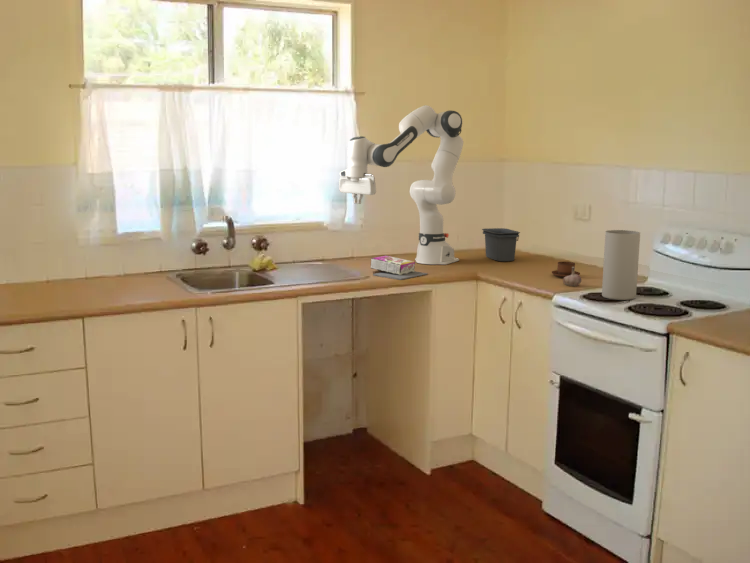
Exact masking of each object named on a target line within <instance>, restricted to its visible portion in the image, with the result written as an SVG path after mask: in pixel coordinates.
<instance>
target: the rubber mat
mask: <svg viewBox="0 0 750 563" xmlns="http://www.w3.org/2000/svg"><path fill="white" fill-rule="evenodd" d="M427 274H428V275H429V273H428V272H423V271H421V272H420V271H415V270H414V272H412V273H407V274H403V275H397V274H393V273H389V272H381V273H375V274H373V273H372V276H375V277H380V278H388V279H393V280H398V281H402V280H407V279H413V278H416V277H417V276H419V277H423V276H422V275H424V276H428V275H427ZM417 278H418V277H417Z"/></svg>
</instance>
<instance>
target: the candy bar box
mask: <svg viewBox="0 0 750 563" xmlns="http://www.w3.org/2000/svg"><path fill="white" fill-rule="evenodd" d="M415 266H416V261H413V260H409V259H405V258H399V257H394V256H390V255H382V256H376V257H372V258H371V259H370V269H372V270H380V271H384V272H389V273H393V274H397V275H403V274H407V273H412V272H414V271H415V270H416V269H415V268H416V267H415Z"/></svg>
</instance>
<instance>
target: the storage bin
mask: <svg viewBox="0 0 750 563" xmlns="http://www.w3.org/2000/svg"><path fill="white" fill-rule="evenodd" d="M481 231H482V235H484V242H485V243H484V244H485V257H486V258H488V259H491V260H494V261H497V262H513V261H515V257H516V247H517V241H519V238H520V233H521V232H520V231H518V230H514V229H509V228H505V227H504V228H502V227H501V228H498V227H497V228H493V227H492V228H482V229H481Z"/></svg>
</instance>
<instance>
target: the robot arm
mask: <svg viewBox="0 0 750 563" xmlns="http://www.w3.org/2000/svg"><path fill="white" fill-rule="evenodd" d="M462 126H463V118H462V115H461V114H460V113H459V112H457V111H456V110H449V109H448V110H446V111H442V112H439V113H437V112H436V111H435V110H434V108H433V107H432V106H431V105H426V104H425V105H422V106H419V107H418V108H416V109H414V110H413V111H411V112H410V113H408V114H407V115H406V116H404V117H403V118H402V119H401V120H400V122H399V123H398V131H399V134H398V135H397V136H396V137H395V138H394V139H393V140H391V141H390V142H387V143H382V144H380V143H374V142H373V141H371V140H370V139H368V138H367V137H366V136H362V135H361V136H355V137H352V138H350V139H349V141H348V146H347V159H348V164H347V168H346V169H344V170H342V171H340V172H339V180H338V181H339V182H338V183H339V184H338V189H339V191H340V193H341V194H342V193H343V194H351V197H352V198H353V203H354V204H355V205H361V204H362V200H363V197H364V195H368V196H369V195H370V196H373V195H375V194H376V193H377V186H376V178H375V175H374V174H372V173H368V165H370V166H376V167H377V166H378V167H382V168H389V167H391V166H393V164H394V163H395V161H396V159H397V158H398V156H399V155H400V154H401V153H402V152H403V151H404V150H405V149H406V148H408V146H410V145H411V144H412V143H413V142H414V141H415V140H416V139H417V138H419V137H421V135H422V134H424V133H425V132H426V133H427V134H428V135H429V136H431V137H433V138H440V143H439V146H438V149H437V151H436V152H435V155H434V158H433V160H432V161H431V165H430V166H431V170H432V171H433V177H432V179H420V180H419V179H418V180H415V181H414V182H412V183H411V185H410V188H409V195H410V197H411V199H412V200H413V201H414V203H415V204H416V207H417V211H418V215H419V233H418V241H419V242H418V244H417V249H416V257H415V258H414V260H415V263H418V264H422V265H449V264H453V263H455V262H458V261H460V259H459V258H458V257H456V256H455V250H454V247H453V246H452V245H450V244H449V243H448V241H446V238H449V236H450V234H449V233H446V232H445V233H444V215H443V214H442V213H441V212H440V210H439V209H438V205H439V206H440V205H448V204H451V203H452V202H453V201H454V200H455V199H456V187H455V186H454V185H453V176H454V172H455V170H456V167H457V165H458V163H459V160H460V157H461V154H462V151H463V148H464V139H463V137H462V136H461V133H462Z"/></svg>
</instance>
